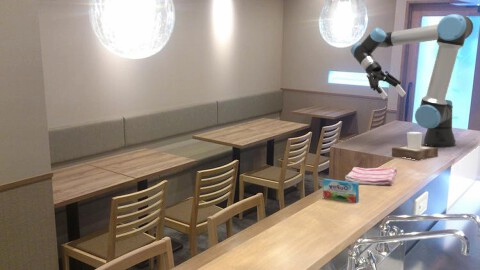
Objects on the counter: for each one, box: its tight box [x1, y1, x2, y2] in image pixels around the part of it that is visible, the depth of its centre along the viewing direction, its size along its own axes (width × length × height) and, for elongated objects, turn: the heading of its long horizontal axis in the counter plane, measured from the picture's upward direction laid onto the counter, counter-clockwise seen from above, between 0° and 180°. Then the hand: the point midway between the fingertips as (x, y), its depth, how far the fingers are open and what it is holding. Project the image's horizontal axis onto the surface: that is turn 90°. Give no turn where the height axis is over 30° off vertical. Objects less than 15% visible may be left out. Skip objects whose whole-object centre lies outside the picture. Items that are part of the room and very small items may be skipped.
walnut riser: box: [391, 144, 439, 161], centre depth 212 cm, size 14×14×4 cm
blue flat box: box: [322, 178, 360, 204], centre depth 150 cm, size 12×2×6 cm, turn 50°
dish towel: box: [344, 166, 398, 186], centre depth 177 cm, size 17×23×4 cm
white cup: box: [406, 131, 423, 149], centre depth 211 cm, size 7×7×7 cm
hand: (395, 96), depth 229 cm, fingers open, 13 cm apart
